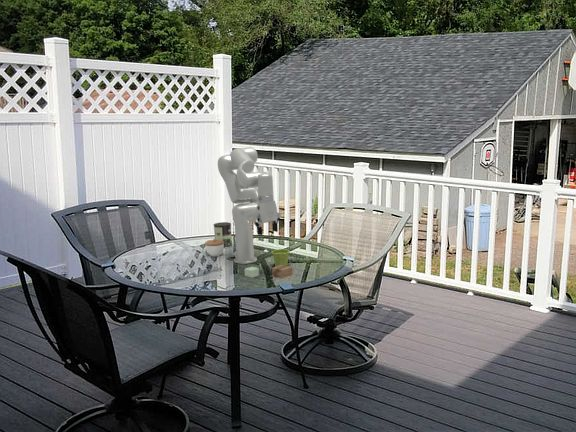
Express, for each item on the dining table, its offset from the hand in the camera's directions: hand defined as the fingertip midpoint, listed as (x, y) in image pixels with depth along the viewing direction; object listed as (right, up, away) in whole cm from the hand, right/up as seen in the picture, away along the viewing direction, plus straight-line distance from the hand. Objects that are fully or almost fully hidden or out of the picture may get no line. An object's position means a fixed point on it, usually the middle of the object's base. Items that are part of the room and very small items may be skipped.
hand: (267, 232), depth 298 cm
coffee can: (-29, -10, +64) cm, 71 cm away
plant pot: (+7, -19, +15) cm, 25 cm away
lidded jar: (-31, -14, +45) cm, 57 cm away
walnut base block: (+7, -21, -4) cm, 22 cm away
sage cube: (-8, -22, -2) cm, 24 cm away
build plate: (+7, -22, -3) cm, 23 cm away
